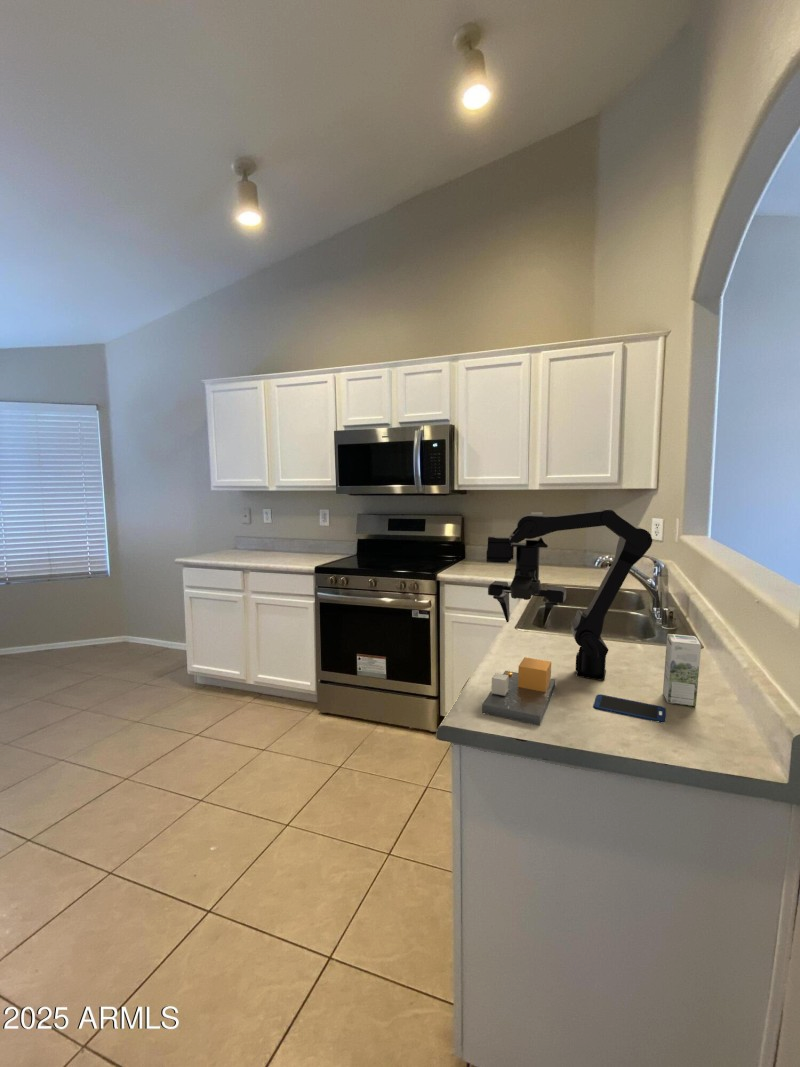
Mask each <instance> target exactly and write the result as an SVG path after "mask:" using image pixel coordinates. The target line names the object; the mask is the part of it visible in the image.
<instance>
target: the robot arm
mask: <svg viewBox="0 0 800 1067" xmlns="http://www.w3.org/2000/svg"><path fill="white" fill-rule="evenodd" d="M603 526H604V527H606V528H607V529H608V530H610V531H611V532H612V533H614V534H615V535H616V536H618V537H619V538H618V541H617V545H616V550H615V555H614V559H613V560H612V562H611V564H610V566H609V568H608V570H607V572H606V574H605V575H604V577H603V579H602V581H601V583H600V584H599V587H598V588H597V590H596V593H595V594H594V596H593V598H592V600H591V602H590V604H589V605H588V607H587V608H585V610H583V611H581V610H580V609H577V610H576V613H575V616H574V618H573V619H572V620H571V621H570V624H571V628H570V629H571V634H572V636H573V638H574V640H575V641H574V642H575V643H576V644H577V645H578V646H579V648H578V652H577V653H576V655H575V671H576V676H577V677H581V678H586V679H587V678H588V679H592V680H597V681H605V679H606V674H607V669H606V664H607V655H608V652H609V647H607V645H606V642H604V640H603V638H602V636H601V635H602V632H603V629H604V622H605V617H606V615H607V614H608V611H609V610H610V608H611V606H612V604H613V602H614V600H615V599H616V597H617V595H618V593H619V591H620V589H621V587H622V586H623V584H624V583H625V580H626V578H627V576H628V575H629V573H630V572H631V569H632V568H633V566H634V565H635V564H636V563H637V562H639V561H640V560H641V559H642V558H643V557H644V556H645V554H646V553H647V551H648V550H649V549H650V548H651V547H652V545H653V537H652V535H651V533H650V532H649V531H648V530H647V529H645V528H643V527H640V526H636V525H633V524H631V523H629V521H627V520H625V519H623V518H622V517H621V516H620V515H618V514H617V512H615V511H614V510H612V509H610V508H602V509H599V510H597V509H596V510H591V511H581V512H574V513H567V514H565V513H564V514H556V515H552V514H550V515H549V514H539V513H538V514H537V513H525V514H523V515H521V516H520V517H519V518H518V519H517V522H516V528H515V529H514V530H513V532H512V533H510V535H509V536H508V537H502V536H501V537H498V536H491V535H489V536H488V537H487V547H486V564H509V563H510V562H512V561H513V560H514V547H515V548H516V549H515V550H516V551H515V552H516V554H515V569H514V571H515V572H514V576H513V578H512V581H511V584H510V585H509V582H507V581H498V580H494V581H493V582H492V583H490V584H489V585H488V587H487V595H488V596H492V597H493V599H495V600H497V602H499V605H500V607H501V609H502V613H503V615H504V618H505V621H506V623H509V621H510V615H511V614H510V612H511V611H510V597H511V598H512V599H521V600H524V601H529V600H531V599H532V596H534V597H535V596H536V597H545V598H546V601H545V602H544V613H543V619H542V627H543V628H545V627H546V624H547V622H548V620H549V618H550V615H551V612H552V610H553V608H554V606H558V605H560V604H563V603H564V602H565V601H566V599H567V589H566V588H565V587H563V586H555V585H550V586H549V587H548V588H547V589H545V588H542V585H541V584H542V583H541V580H540V578H539V577H540V576H539V575H540V552H541V551H540V549H541V548H542V549H543V548H544V549H545V548H548V547H549V545H548V543H547V542H546V541H545V540H544V539H543V537H542V536H547V535H549V534H552V533H554V532H561V531H568V530H576V529H577V530H578V529H587V528H595V527H603ZM536 538H537V539H536ZM525 539H526V540H525ZM524 540H525V542H522V541H524ZM521 542H522V543H521Z"/></svg>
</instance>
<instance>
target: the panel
mask: <svg viewBox="0 0 800 1067" xmlns="http://www.w3.org/2000/svg"><path fill="white" fill-rule="evenodd" d="M502 674H504V675H509V682H508V692H507V693H506V695H505V696H504V695H499V694H494V693H491V692H492V690H491V691H490V692H489V693H488V695H487V697H486V698H485V699H484V701H483V702H482V703H481V714H483V713H485V714H484V715H488V714H489V715H488V716H492V715H493V717H497V716H498V718H502V719H507V720H511V721H517V722H521V723H526V724H531V725H535V726H541V723H542V721H543V719H544V717H545V715H546V711H547V709H548V707H549V704H550V702H551V700H552V696H553V694H554V692H555V689H556V678H551V682H550V684H549V686H548V688H547V691H546V692H543V691H538V690H532V689H527V688H521V687H518V672H515V671H509V670H505V671H504V672H503V673H502Z"/></svg>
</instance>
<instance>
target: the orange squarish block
mask: <svg viewBox="0 0 800 1067" xmlns="http://www.w3.org/2000/svg"><path fill="white" fill-rule="evenodd" d="M517 673H518V687H521V688H527V689H532V690H538V691H543V692H546V691H547V688H548V686H549V684H550V682H551V679H552V661H549V660H543V659H537V658H531V657H527V656H525V657H524V658H522V660H521V662H520V663H519V665H518V672H517Z"/></svg>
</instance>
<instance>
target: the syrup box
mask: <svg viewBox="0 0 800 1067" xmlns="http://www.w3.org/2000/svg"><path fill="white" fill-rule="evenodd" d="M701 653H702V645H701V643H700V641H699V639H698V638H697V637H696V636H694V635H686V634H685V635H684V634H672V633H667V634H666V646H665V659H664V660H665V661H664V674H663V689H662V692H663V696H664V697H665V698H664V699H665V700H666V703H667V704H670V703H671V705H677V704H680V705H679V706H684V705H688V706H687V707H692V706H696V707H697V701H698V700H697V698H698V686H699V676H700V666H701V665H700V664H701V663H700V662H701Z"/></svg>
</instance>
